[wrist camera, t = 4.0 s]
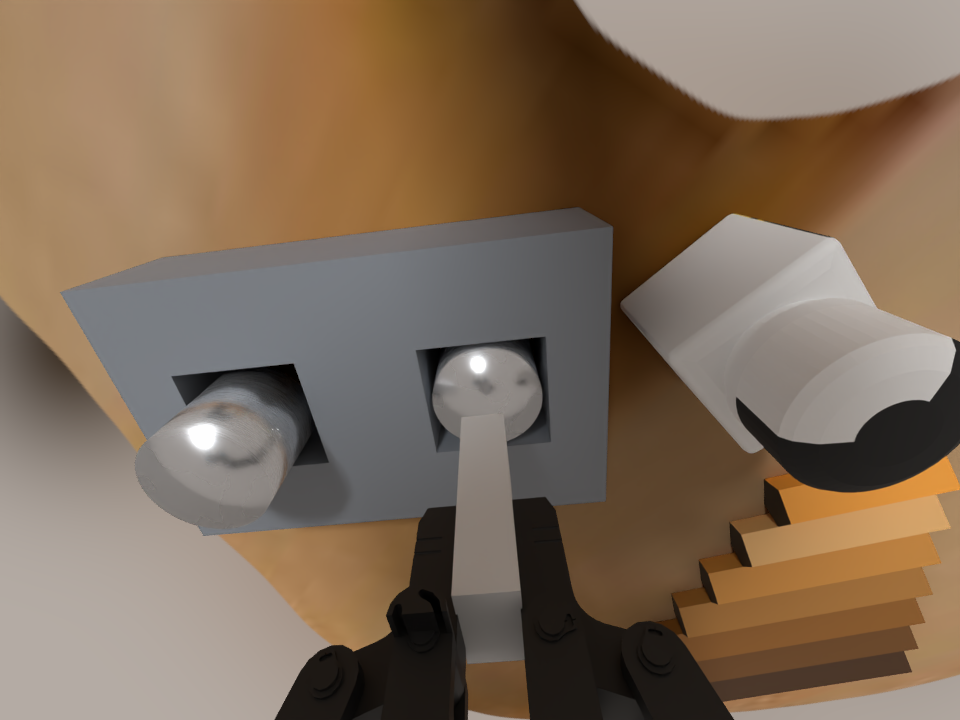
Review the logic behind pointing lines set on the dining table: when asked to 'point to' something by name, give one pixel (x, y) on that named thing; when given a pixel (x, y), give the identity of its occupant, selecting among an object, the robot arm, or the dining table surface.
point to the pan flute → (815, 587)
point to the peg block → (377, 352)
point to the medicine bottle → (802, 356)
